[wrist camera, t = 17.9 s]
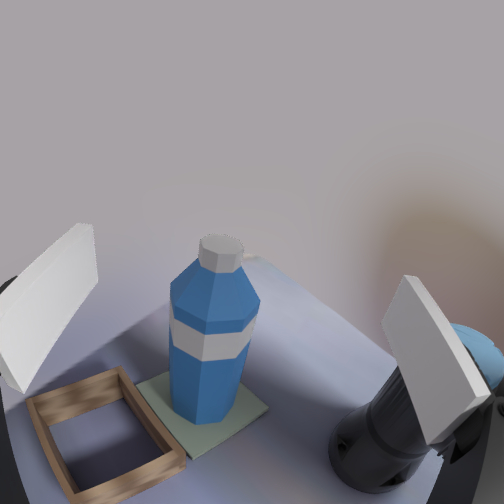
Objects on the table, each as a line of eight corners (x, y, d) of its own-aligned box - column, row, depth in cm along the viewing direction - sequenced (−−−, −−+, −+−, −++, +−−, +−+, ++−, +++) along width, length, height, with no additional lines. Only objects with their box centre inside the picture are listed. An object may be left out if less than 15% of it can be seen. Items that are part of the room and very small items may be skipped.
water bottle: (177, 369, 43) (186, 216, 32) (236, 381, 43) (272, 233, 32) (162, 417, 35) (156, 257, 23) (229, 431, 35) (272, 280, 24)
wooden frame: (126, 390, 38) (121, 365, 35) (185, 468, 29) (185, 452, 27) (40, 422, 28) (24, 399, 25) (87, 515, 19) (71, 504, 16)
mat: (208, 355, 48) (209, 351, 48) (267, 410, 40) (269, 407, 40) (136, 388, 39) (135, 385, 38) (192, 460, 31) (192, 457, 30)
